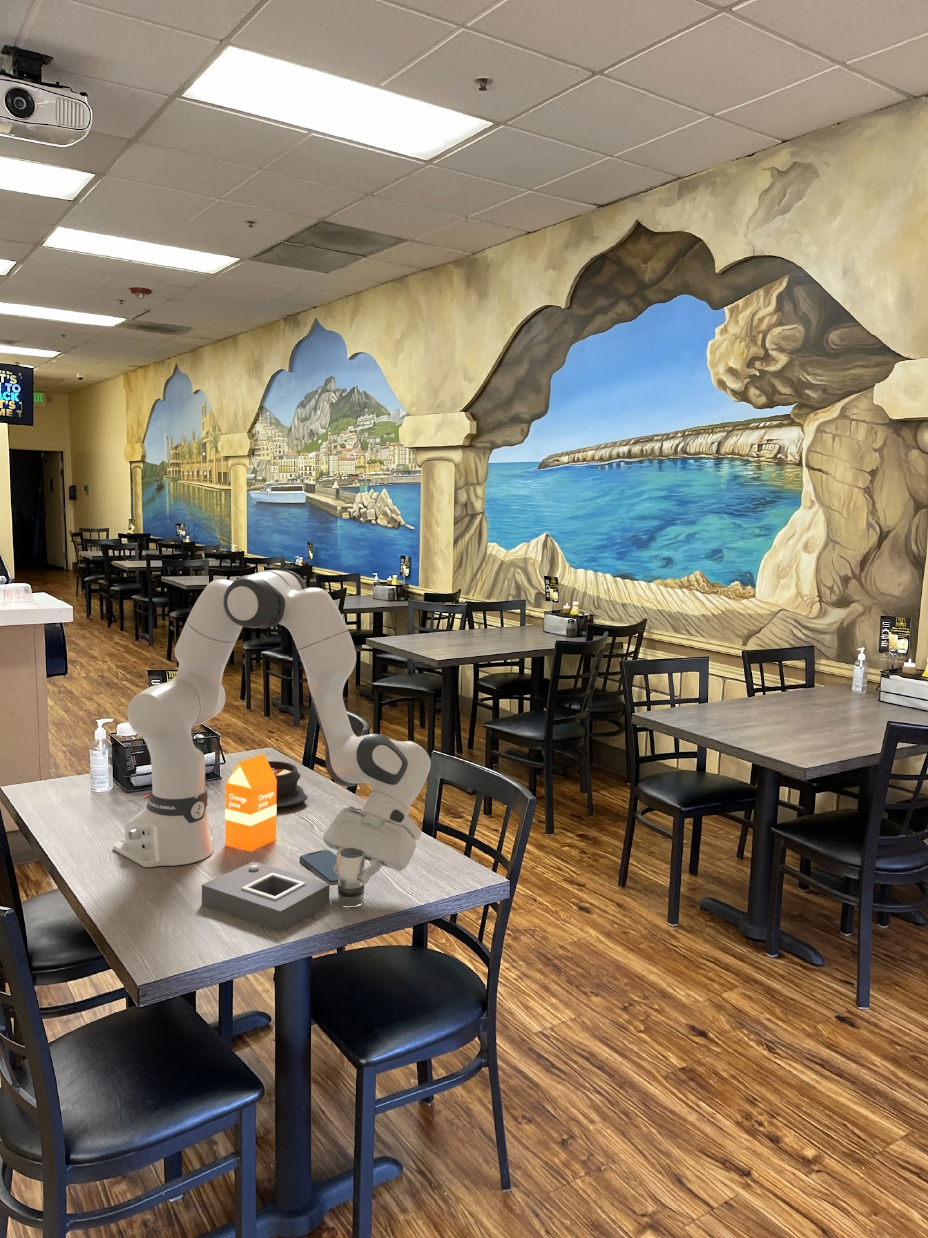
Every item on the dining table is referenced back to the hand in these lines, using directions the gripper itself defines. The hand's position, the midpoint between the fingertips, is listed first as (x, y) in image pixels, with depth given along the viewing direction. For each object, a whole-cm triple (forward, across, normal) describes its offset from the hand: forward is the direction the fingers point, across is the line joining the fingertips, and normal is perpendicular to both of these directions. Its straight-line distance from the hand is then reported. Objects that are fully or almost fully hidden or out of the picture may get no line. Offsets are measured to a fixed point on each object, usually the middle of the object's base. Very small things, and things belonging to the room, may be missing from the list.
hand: (349, 877), depth 169 cm
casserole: (-19, -59, +27) cm, 68 cm away
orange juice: (-3, -39, +11) cm, 40 cm away
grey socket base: (+11, -12, -4) cm, 17 cm away
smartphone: (-3, -15, +11) cm, 19 cm away
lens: (+3, 0, +4) cm, 5 cm away
